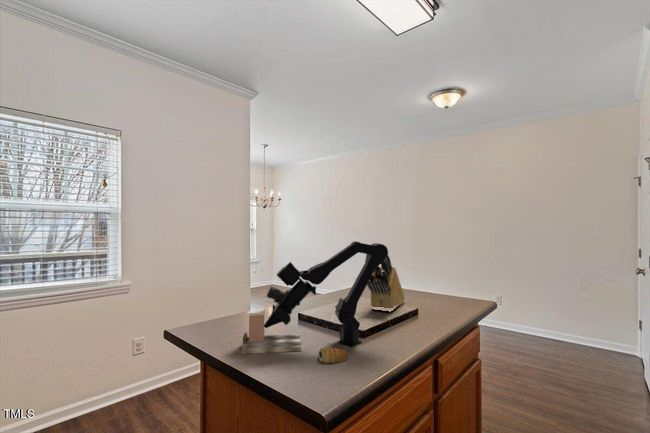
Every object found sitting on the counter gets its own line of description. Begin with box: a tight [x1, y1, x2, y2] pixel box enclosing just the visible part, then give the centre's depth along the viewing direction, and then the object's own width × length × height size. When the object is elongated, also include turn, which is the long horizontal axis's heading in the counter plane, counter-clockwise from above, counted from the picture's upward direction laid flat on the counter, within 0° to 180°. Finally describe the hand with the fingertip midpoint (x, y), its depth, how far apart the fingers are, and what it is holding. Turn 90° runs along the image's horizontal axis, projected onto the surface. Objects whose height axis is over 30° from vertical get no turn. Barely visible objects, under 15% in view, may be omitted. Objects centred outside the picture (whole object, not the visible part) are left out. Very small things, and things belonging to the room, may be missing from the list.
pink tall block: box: [248, 308, 266, 343], centre depth 113 cm, size 5×5×11 cm
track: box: [241, 332, 302, 355], centre depth 114 cm, size 20×10×4 cm, turn 98°
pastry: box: [317, 346, 349, 364], centre depth 103 cm, size 9×7×4 cm
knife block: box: [366, 254, 405, 308], centre depth 167 cm, size 11×35×31 cm, turn 152°
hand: (264, 326), depth 113 cm, fingers closed, pressing on pink tall block
